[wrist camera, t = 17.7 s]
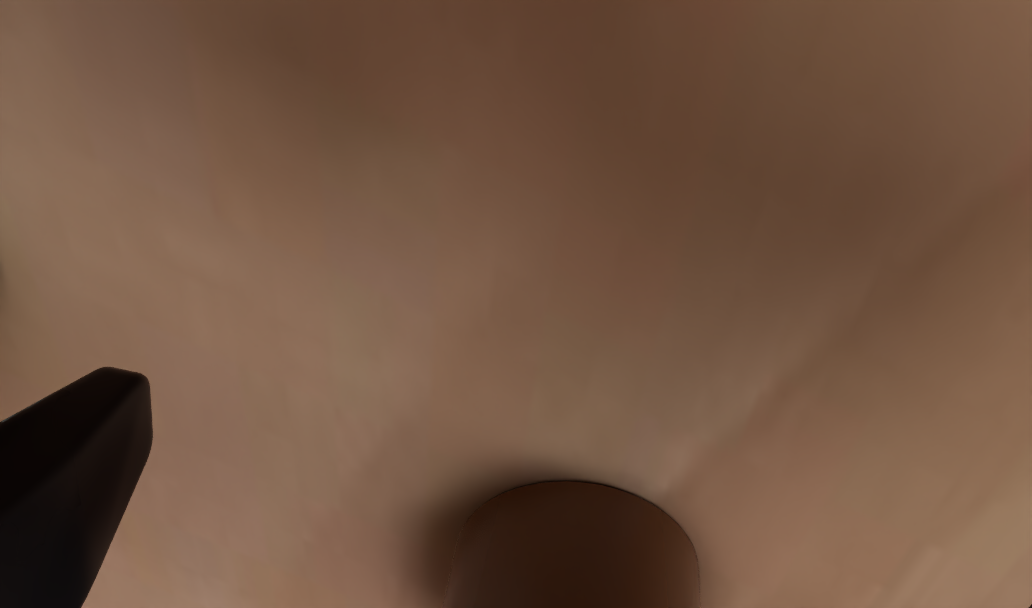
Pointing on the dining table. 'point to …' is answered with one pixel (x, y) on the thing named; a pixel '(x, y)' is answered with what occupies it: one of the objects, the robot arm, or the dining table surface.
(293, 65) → the dining table surface
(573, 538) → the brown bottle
